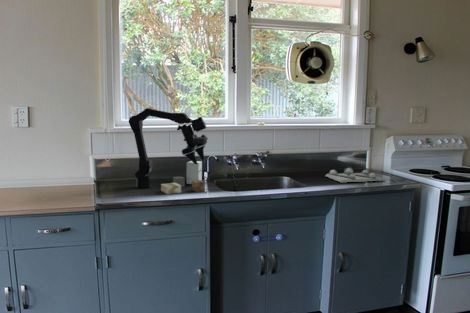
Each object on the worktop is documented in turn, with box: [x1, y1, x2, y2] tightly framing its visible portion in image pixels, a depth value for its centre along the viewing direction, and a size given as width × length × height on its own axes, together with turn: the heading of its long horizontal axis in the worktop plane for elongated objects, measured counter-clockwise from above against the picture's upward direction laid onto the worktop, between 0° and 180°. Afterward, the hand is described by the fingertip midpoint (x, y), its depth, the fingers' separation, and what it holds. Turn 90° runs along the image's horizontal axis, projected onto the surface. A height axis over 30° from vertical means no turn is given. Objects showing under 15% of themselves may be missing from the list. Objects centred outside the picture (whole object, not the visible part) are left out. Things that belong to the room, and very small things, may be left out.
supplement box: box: [186, 160, 203, 185], centre depth 233 cm, size 7×7×13 cm
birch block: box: [160, 182, 182, 195], centre depth 212 cm, size 8×8×4 cm
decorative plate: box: [324, 167, 386, 184], centre depth 251 cm, size 30×22×7 cm
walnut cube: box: [191, 179, 206, 193], centre depth 216 cm, size 5×5×5 cm
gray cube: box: [172, 175, 186, 188], centre depth 226 cm, size 5×5×5 cm
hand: (199, 161), depth 219 cm, fingers open, 9 cm apart
